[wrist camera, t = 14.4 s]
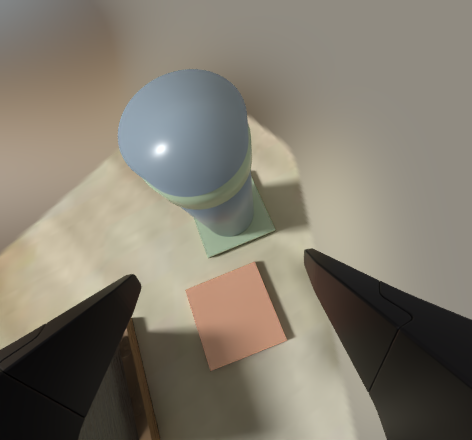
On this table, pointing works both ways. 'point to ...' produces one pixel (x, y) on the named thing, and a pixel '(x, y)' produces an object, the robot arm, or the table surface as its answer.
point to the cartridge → (193, 146)
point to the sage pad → (255, 230)
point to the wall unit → (122, 398)
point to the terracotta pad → (234, 316)
